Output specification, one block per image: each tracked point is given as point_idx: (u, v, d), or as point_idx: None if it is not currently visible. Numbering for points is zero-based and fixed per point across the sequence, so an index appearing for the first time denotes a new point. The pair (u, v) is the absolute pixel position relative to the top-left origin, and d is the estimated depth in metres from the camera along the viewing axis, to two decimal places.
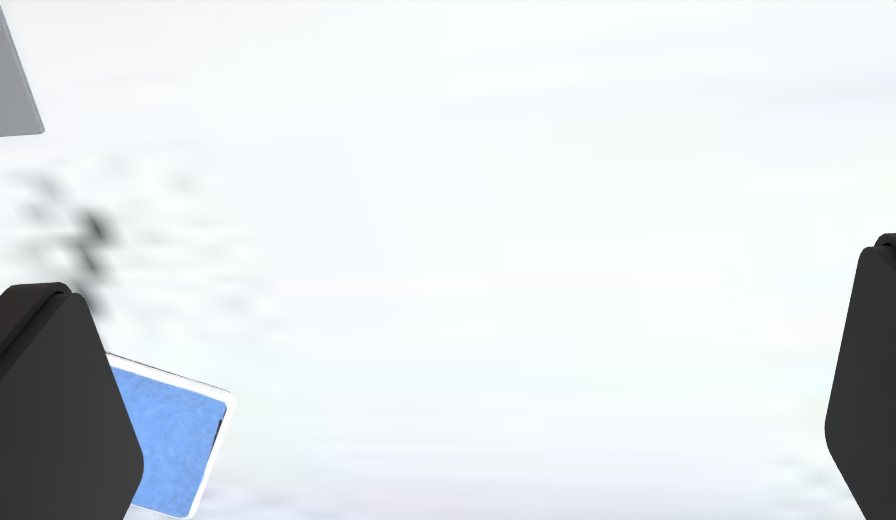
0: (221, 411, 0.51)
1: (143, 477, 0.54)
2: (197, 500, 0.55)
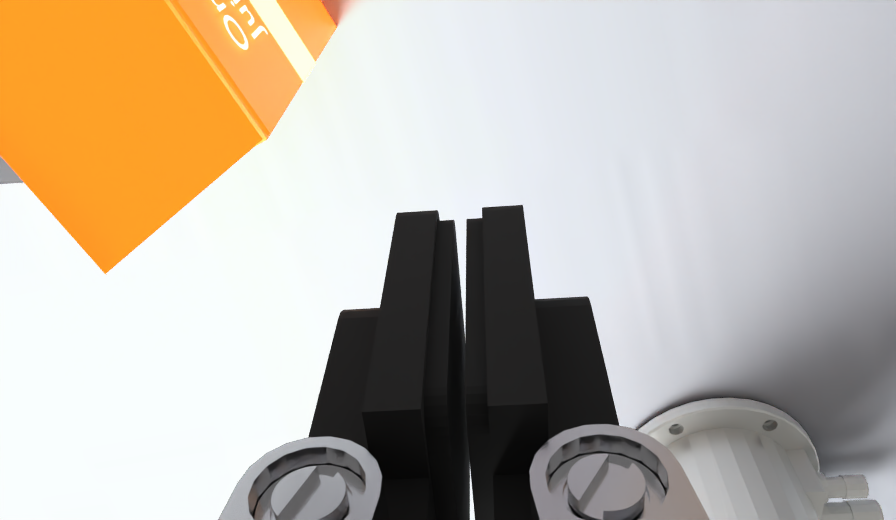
0: None
1: None
2: None
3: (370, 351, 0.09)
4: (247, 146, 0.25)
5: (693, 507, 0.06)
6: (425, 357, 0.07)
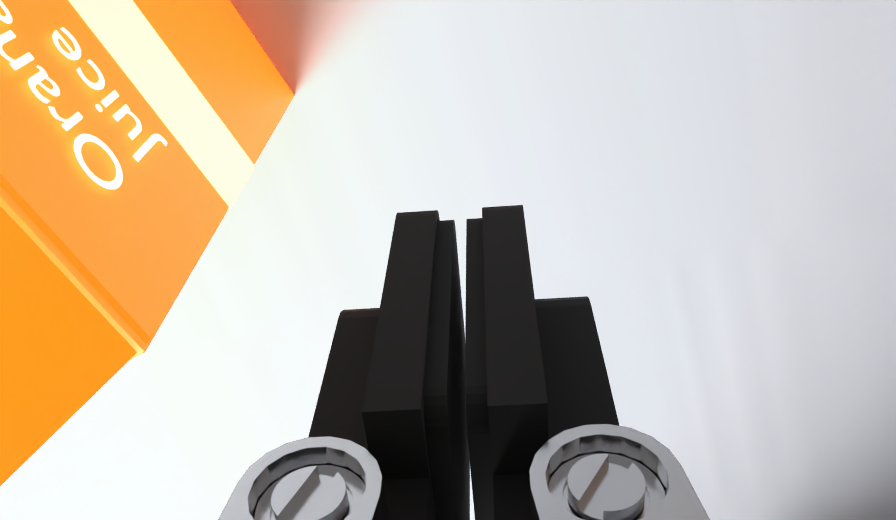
0: None
1: None
2: None
3: (370, 351, 0.09)
4: (106, 370, 0.14)
5: (693, 507, 0.06)
6: (424, 357, 0.07)
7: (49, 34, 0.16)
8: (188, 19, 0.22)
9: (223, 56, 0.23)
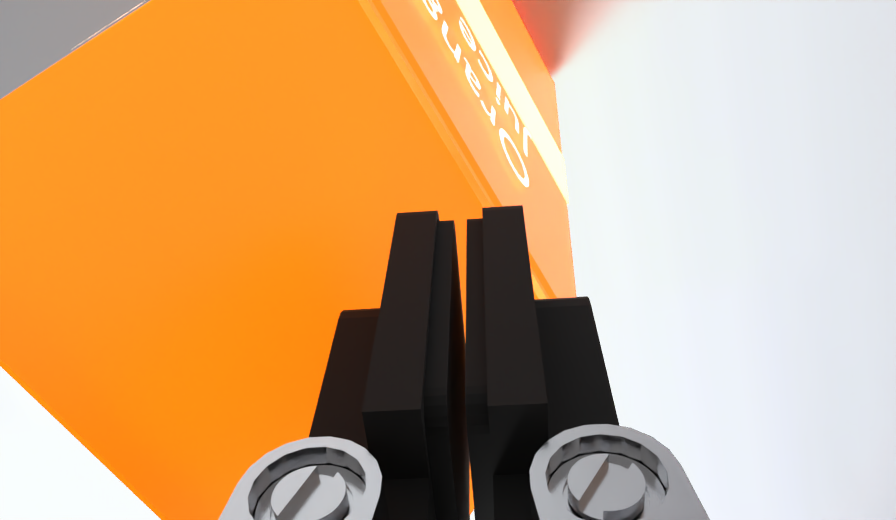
0: None
1: None
2: None
3: (370, 351, 0.09)
4: None
5: (693, 507, 0.06)
6: (425, 356, 0.07)
7: (452, 24, 0.16)
8: (495, 5, 0.22)
9: (518, 44, 0.23)
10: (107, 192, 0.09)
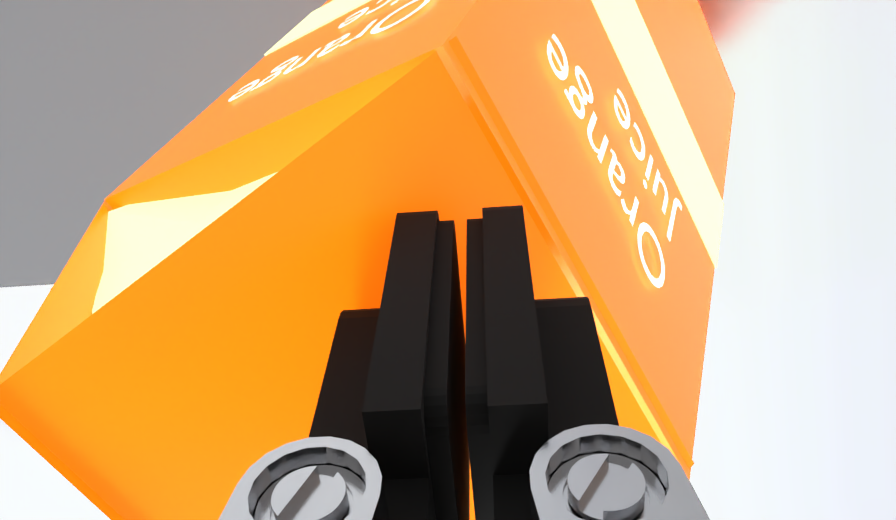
0: None
1: None
2: None
3: (370, 351, 0.09)
4: None
5: (693, 507, 0.06)
6: (425, 357, 0.07)
7: (607, 99, 0.15)
8: (673, 27, 0.20)
9: (694, 66, 0.21)
10: (220, 359, 0.10)
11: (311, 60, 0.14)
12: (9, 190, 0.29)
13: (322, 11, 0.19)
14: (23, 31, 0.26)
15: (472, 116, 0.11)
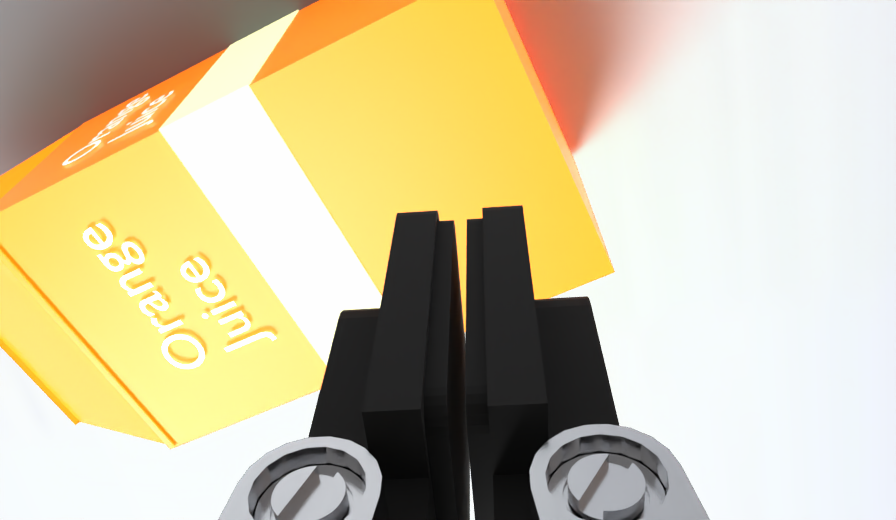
0: None
1: None
2: None
3: (370, 351, 0.09)
4: (156, 439, 0.25)
5: (693, 507, 0.06)
6: (425, 357, 0.07)
7: (187, 259, 0.21)
8: (425, 207, 0.20)
9: (465, 242, 0.21)
10: None
11: None
12: None
13: (268, 29, 0.25)
14: (75, 24, 0.26)
15: None
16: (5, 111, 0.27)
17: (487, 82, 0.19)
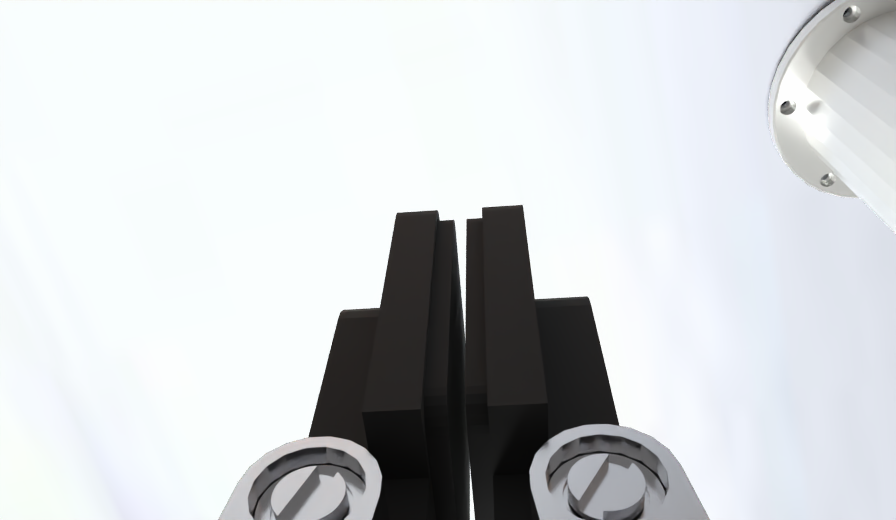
0: None
1: None
2: None
3: (370, 351, 0.09)
4: None
5: (693, 507, 0.06)
6: (425, 357, 0.07)
7: None
8: None
9: None
10: None
11: None
12: None
13: None
14: None
15: None
16: None
17: None
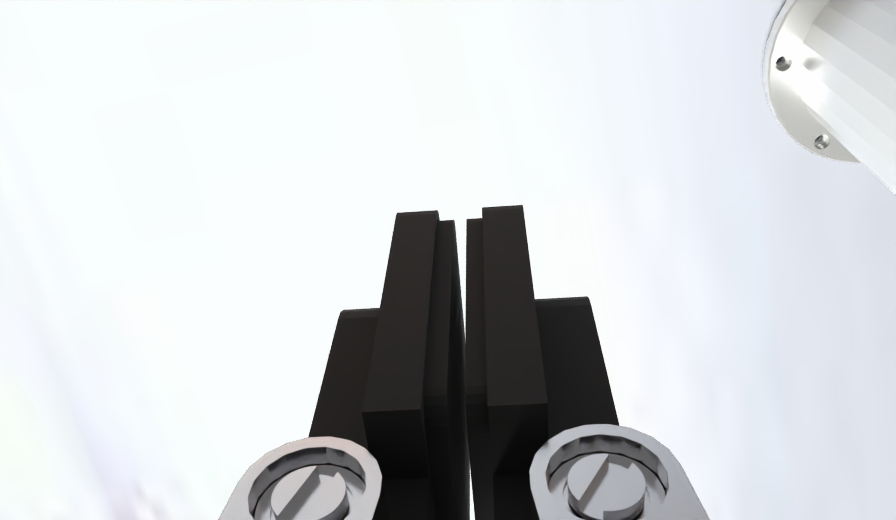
0: None
1: None
2: None
3: (370, 351, 0.09)
4: None
5: (693, 507, 0.06)
6: (425, 356, 0.07)
7: None
8: None
9: None
10: None
11: None
12: None
13: None
14: None
15: None
16: None
17: None
